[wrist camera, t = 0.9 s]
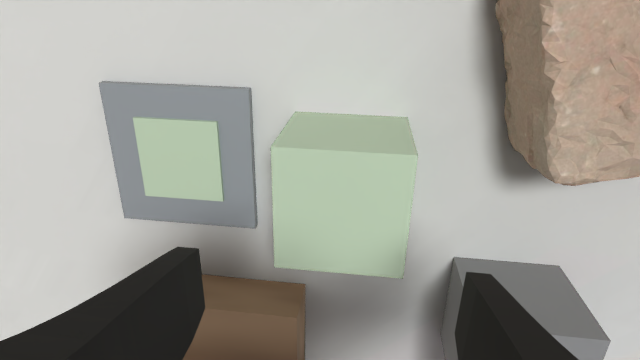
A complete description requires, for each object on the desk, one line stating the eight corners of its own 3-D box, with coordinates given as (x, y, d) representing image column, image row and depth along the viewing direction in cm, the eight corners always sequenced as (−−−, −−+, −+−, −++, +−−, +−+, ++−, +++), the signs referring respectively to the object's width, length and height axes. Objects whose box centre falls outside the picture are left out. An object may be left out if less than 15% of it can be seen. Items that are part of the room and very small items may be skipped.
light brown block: (305, 384, 26) (297, 429, 24) (183, 369, 27) (161, 411, 24) (306, 279, 23) (296, 317, 20) (167, 266, 24) (140, 301, 21)
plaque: (257, 224, 22) (254, 230, 21) (128, 214, 22) (122, 219, 22) (250, 87, 19) (247, 90, 18) (103, 81, 19) (96, 83, 19)
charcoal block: (535, 342, 22) (575, 429, 18) (440, 332, 23) (456, 415, 18) (558, 264, 20) (610, 340, 16) (453, 256, 21) (475, 327, 16)
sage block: (396, 216, 21) (403, 278, 16) (296, 209, 21) (274, 267, 16) (407, 116, 19) (418, 155, 14) (295, 111, 19) (271, 146, 14)
